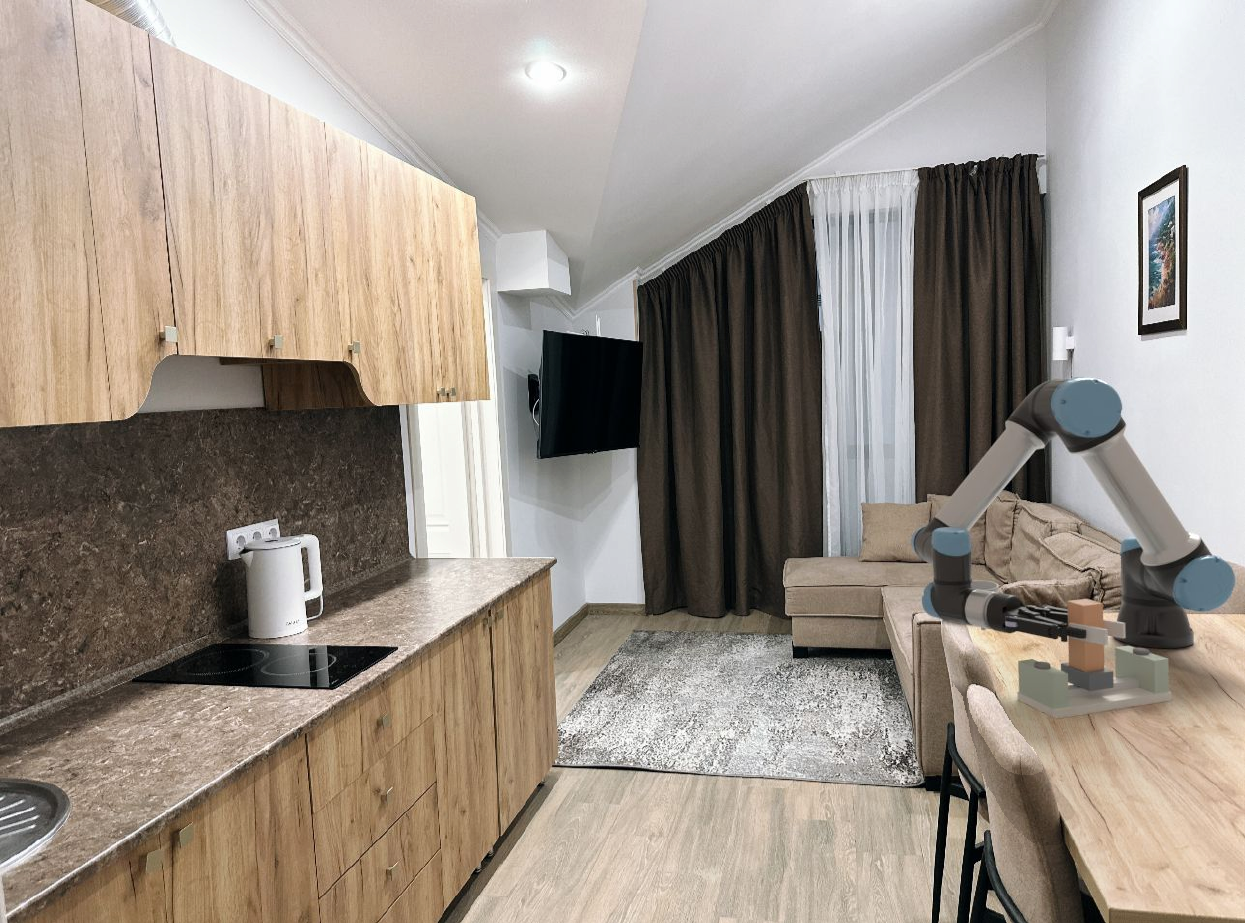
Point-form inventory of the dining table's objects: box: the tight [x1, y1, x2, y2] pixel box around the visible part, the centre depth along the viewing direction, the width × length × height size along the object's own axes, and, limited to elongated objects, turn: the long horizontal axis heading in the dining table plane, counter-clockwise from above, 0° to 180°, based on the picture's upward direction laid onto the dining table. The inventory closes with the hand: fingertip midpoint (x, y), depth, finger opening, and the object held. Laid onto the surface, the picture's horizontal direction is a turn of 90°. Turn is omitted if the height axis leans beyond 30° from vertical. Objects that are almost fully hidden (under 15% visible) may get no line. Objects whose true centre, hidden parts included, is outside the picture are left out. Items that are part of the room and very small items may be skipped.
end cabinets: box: [1017, 645, 1170, 709], centre depth 155 cm, size 24×9×7 cm, turn 102°
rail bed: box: [1016, 676, 1172, 720], centre depth 155 cm, size 24×10×3 cm, turn 103°
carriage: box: [1060, 598, 1114, 691], centre depth 154 cm, size 5×7×15 cm
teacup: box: [972, 579, 1000, 593], centre depth 218 cm, size 14×11×8 cm
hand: (1115, 633), depth 150 cm, fingers closed on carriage, 5 cm apart
